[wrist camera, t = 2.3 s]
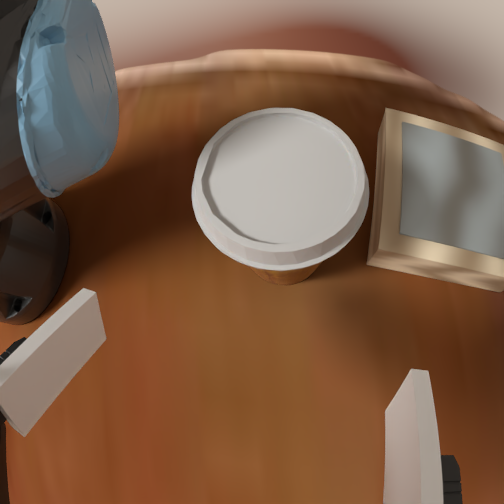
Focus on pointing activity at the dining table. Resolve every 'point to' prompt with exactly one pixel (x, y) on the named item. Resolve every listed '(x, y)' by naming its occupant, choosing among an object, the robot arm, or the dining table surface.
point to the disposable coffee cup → (280, 192)
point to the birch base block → (438, 202)
